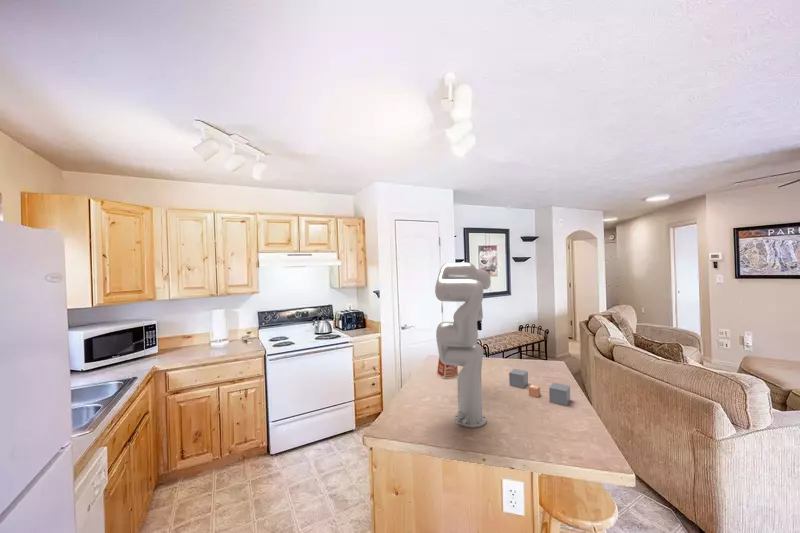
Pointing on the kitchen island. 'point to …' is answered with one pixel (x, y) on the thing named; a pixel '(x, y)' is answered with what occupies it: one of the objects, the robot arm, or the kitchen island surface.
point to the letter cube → (534, 391)
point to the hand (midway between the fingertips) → (474, 331)
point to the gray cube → (518, 378)
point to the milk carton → (447, 370)
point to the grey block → (559, 394)
